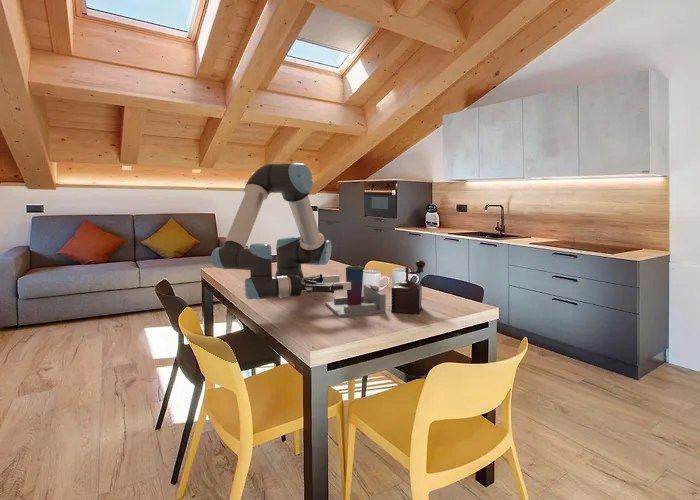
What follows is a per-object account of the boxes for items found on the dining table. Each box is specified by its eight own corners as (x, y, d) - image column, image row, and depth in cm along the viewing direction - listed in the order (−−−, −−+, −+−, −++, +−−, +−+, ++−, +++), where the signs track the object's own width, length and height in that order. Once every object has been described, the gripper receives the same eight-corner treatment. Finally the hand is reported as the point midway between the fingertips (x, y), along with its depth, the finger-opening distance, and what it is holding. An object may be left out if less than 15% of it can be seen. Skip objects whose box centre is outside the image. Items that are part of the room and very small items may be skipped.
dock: (325, 304, 166) (325, 283, 165) (368, 300, 172) (368, 280, 171) (338, 317, 149) (338, 293, 148) (385, 312, 155) (385, 290, 154)
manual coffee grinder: (420, 314, 153) (421, 266, 150) (390, 312, 156) (391, 264, 153) (425, 304, 167) (426, 259, 165) (397, 302, 170) (398, 258, 168)
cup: (361, 308, 157) (361, 269, 155) (343, 307, 158) (343, 268, 156) (364, 304, 163) (364, 266, 161) (347, 303, 165) (347, 265, 163)
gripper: (282, 288, 163) (334, 285, 170) (296, 304, 140) (356, 299, 147) (282, 269, 162) (334, 266, 169) (296, 282, 139) (356, 278, 146)
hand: (344, 282), depth 158 cm, fingers open, 13 cm apart
